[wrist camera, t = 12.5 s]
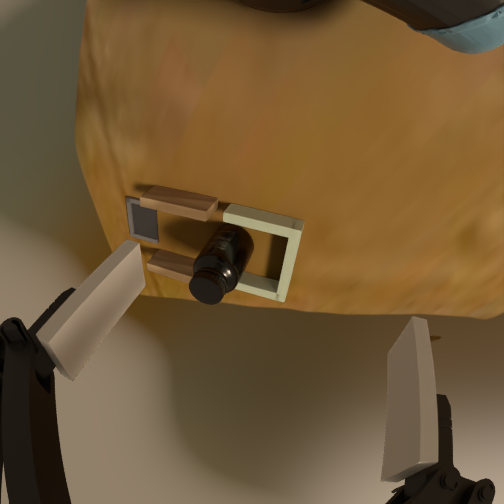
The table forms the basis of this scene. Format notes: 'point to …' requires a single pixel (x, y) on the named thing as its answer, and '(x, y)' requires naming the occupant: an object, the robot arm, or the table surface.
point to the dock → (275, 226)
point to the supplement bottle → (221, 264)
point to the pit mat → (142, 221)
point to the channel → (183, 206)
